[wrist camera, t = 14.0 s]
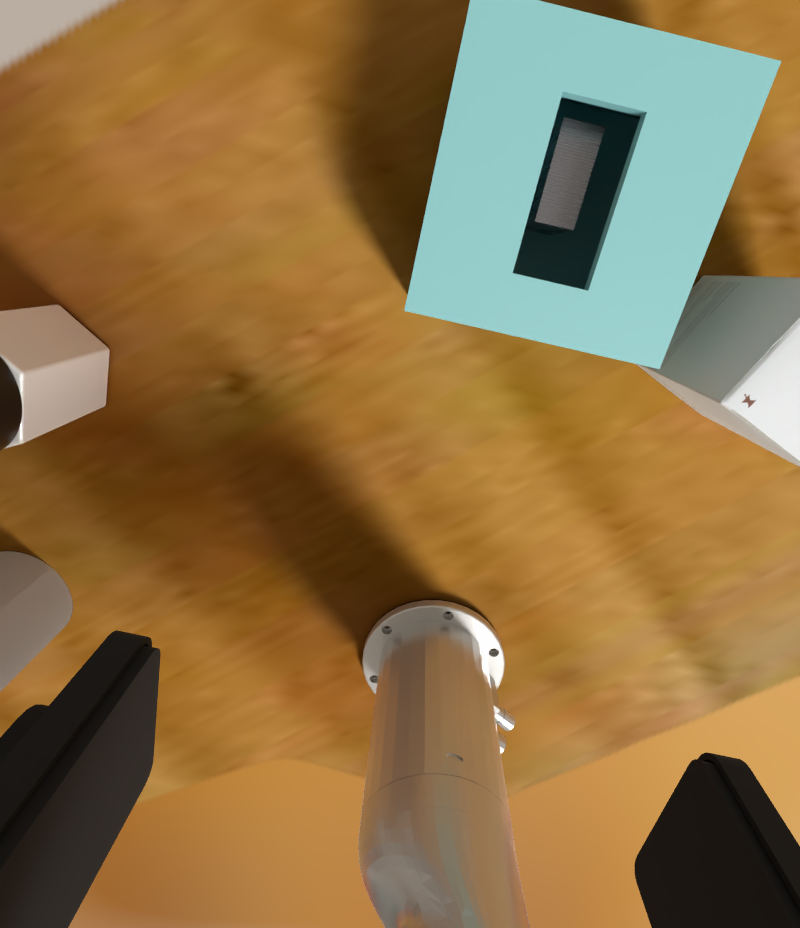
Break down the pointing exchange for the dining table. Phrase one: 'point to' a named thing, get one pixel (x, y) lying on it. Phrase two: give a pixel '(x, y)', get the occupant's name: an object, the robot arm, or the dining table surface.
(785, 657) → the dining table surface
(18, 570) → the cup
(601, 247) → the coin box
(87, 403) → the jar
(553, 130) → the grey metal block
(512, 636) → the dining table surface
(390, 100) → the dining table surface
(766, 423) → the supplement box
